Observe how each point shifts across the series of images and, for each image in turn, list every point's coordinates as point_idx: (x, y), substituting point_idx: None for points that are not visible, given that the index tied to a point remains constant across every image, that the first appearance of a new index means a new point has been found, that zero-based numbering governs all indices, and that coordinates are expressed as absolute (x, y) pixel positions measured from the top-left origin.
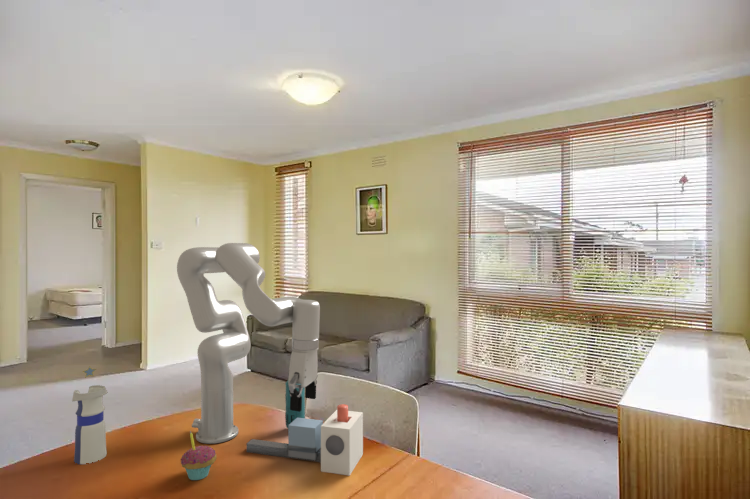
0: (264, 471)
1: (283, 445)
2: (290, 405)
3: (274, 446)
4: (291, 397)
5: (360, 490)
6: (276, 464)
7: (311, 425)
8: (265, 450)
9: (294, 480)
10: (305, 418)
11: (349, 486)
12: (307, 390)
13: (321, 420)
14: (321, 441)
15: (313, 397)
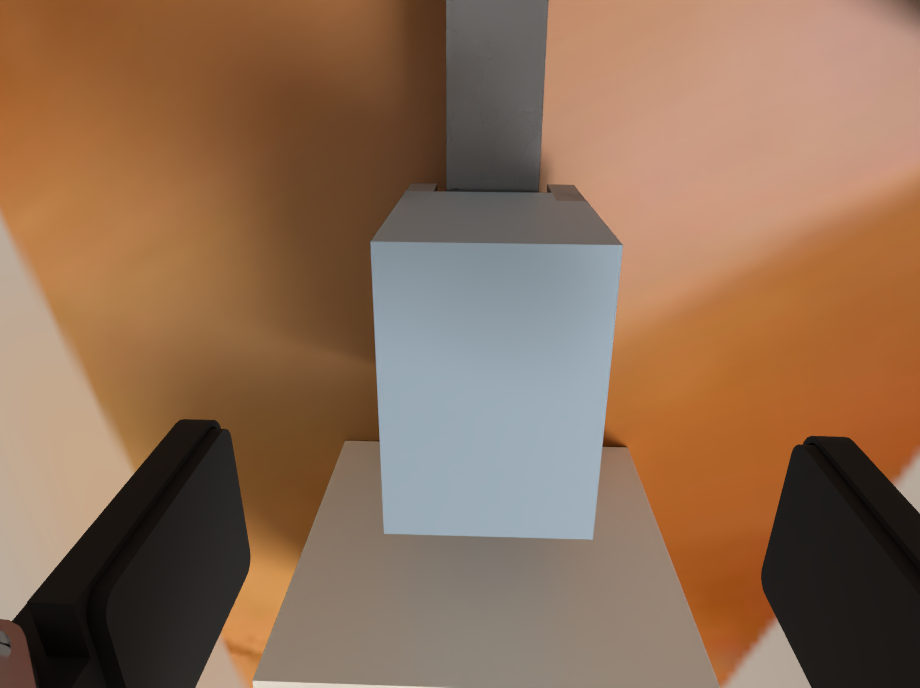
0: (210, 74)
1: (497, 91)
2: (153, 459)
3: (458, 11)
4: (65, 588)
5: (247, 656)
6: (332, 114)
7: (437, 481)
8: None
9: (194, 332)
10: (609, 354)
11: (259, 609)
12: (858, 576)
13: (588, 527)
14: (295, 575)
15: (770, 586)
